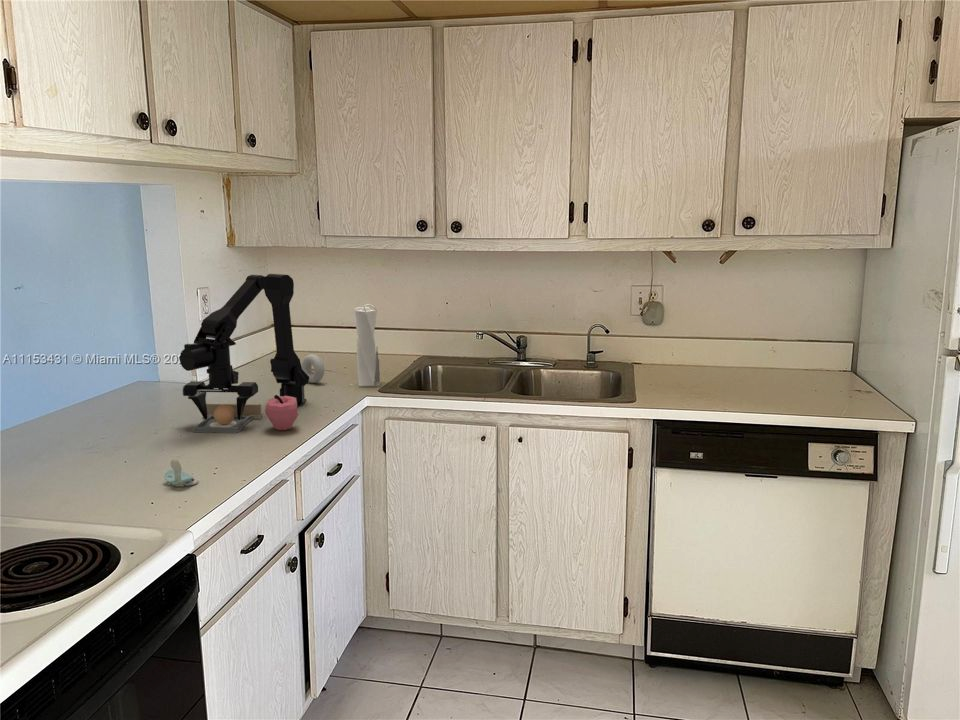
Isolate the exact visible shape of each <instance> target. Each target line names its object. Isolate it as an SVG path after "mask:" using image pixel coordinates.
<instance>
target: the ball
mask: <svg viewBox="0 0 960 720" xmlns="http://www.w3.org/2000/svg"><path fill="white" fill-rule="evenodd" d="M234 417H235V412H234V409H233V408H232V407H231V406H229V405H226V404H222V405H219V406H218V407H217V408H216V409H215V410H214V419H215V421H216V422H218V423H219V424H223V425H225V424H229V423H230V422H232V421H233V419H234Z"/></svg>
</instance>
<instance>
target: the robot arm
mask: <svg viewBox="0 0 960 720" xmlns="http://www.w3.org/2000/svg"><path fill="white" fill-rule="evenodd" d="M294 286H295V285H294V279H293V277H291V276H290V275H288V274H283V273H282V274H281V273H268V274H266V276H265V275H262V274H261V275H260V274H250V275H248V276H247V277H246V278H245V281H244V282H243V283H242V284H241V286H239V287H238V289H237V290H236V291H235V292H234V293H233V295H232V296H231V297H230V298H229V299H228V300H227V302H226V303H225V304H224V305H223V306H222V307H220V308H219V309H217V310H215V311H213V312H211V313H210V314H209V315H207V316H206V317H204V318H203V320H202V321H201V324H200V325H201V326H200V328H199V330H198V332H197V334H196V336H195V337H194V340H193V343H184V345H183V347H184V348H183V349H182V350H181V352H180V355H179V357H178V359H179V364H180V365H181V367H182V369H183V370H185V371H187V372H189V371H190V372H191V371H193V370H194V371H195V370H198V369H203V368H207V369H206V374H208V384H206V383H205V382H204V381H200V380H199V381H193V380H192V381H190V382H187V383H186V384H184V385H183V386H182V396H184V397H187V398H188V399H189V400H191V401H192V402H193V403H194V405H195V406H196V407H197V410H198V411H199V412H200V415H201V416H202V419H203V418H204V420H206V419H207V406H206V403H207V399H206V398H207V393H236V394H237V397H236V403H237V416H238V420H240V419H241V417H242V414H243V410H244V407H245V404H247V401H248V400H249V399H250V398H251V397H254V396H255V395H256V394H257V393H259V385H258V384H257V382H254V381H243V382H241V383H240V384H238V383H239V372H238V371H236V370H234V369H233V365H232V364H231V352H230V350H231V349H230V347H232V346H235V345H237V342H236V341H235V340H233V339H231V336H232V335H233V333H234V331H235V330H236V328H237V324H238V320H239V317H240V316H241V315H242V314H243V313H244V312H245V311H246V309H247V308H248V307H249V305H250V304H251V303H252V302H253V301H254V300H255V299H256V297H257V296H258V295H259V294H260V292H261V291H262V290H264V295H265V297H266V298H267V300H268V302H269V303H270V304H271V309H272V317H273V328H274V338H275V347H276V348H275V349H276V353H275V355H274V357H273V358H270V361H269V362H270V366H271V367H270V373H272V375H273V377H274V378H275V381H276V383H277V384H280V388H279V396H291V397H294V398H296V401H297V407H299V406H302V405H303V404H304V403H306V402H307V398H305V397H306V395H305V386H306V385H308V384H309V383H310V382H309V376H308V375H307V374H306V373H305V372H304V371H303V370H302V362H301V359H300V357H299V356H298V355H297V353H296V351H295V349H294V339H293V337H294V336H293V328H292V317H291V310H290V309H291V308H290V303H291V301H292V299H293V296H294V293H295V292H294V289H295V287H294ZM234 384H235V385H234ZM236 384H238V385H236Z"/></svg>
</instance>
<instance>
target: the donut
mask: <svg viewBox="0 0 960 720" xmlns="http://www.w3.org/2000/svg"><path fill="white" fill-rule="evenodd" d="M312 366H313V368H312ZM301 367H302V370H303V371H304V372H305V373H306V374H307V375H308V376H309V382H308V383H310V384H317V383H320V382H321V381H322V380H323V378H324V376H325V365H324V363H323V361H322V359H321V358H320V357H319V355H317V354H314V353H313V354H312V353H311V354H307V355H306V356H304V357H303V359H302V362H301ZM313 371H314V372H313Z"/></svg>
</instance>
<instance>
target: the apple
mask: <svg viewBox="0 0 960 720" xmlns="http://www.w3.org/2000/svg"><path fill="white" fill-rule="evenodd" d="M264 411H265V415H266V417H267V418H268V420H269V422H270V423H271V424H272V425H273V427H274V429H276V430H277V431H278V430H279V431H288V430H287V429H289V430H291V428H292V427H293V425H294V424H295V422H296V421H297V418H298V416H299V413H298V412H299V411H298V406H297V401H296V398H294V397H291V396H280V395H278V394H275V395H274V397H272V398H270V399H268V400H267V403H266V405H265V410H264Z"/></svg>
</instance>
